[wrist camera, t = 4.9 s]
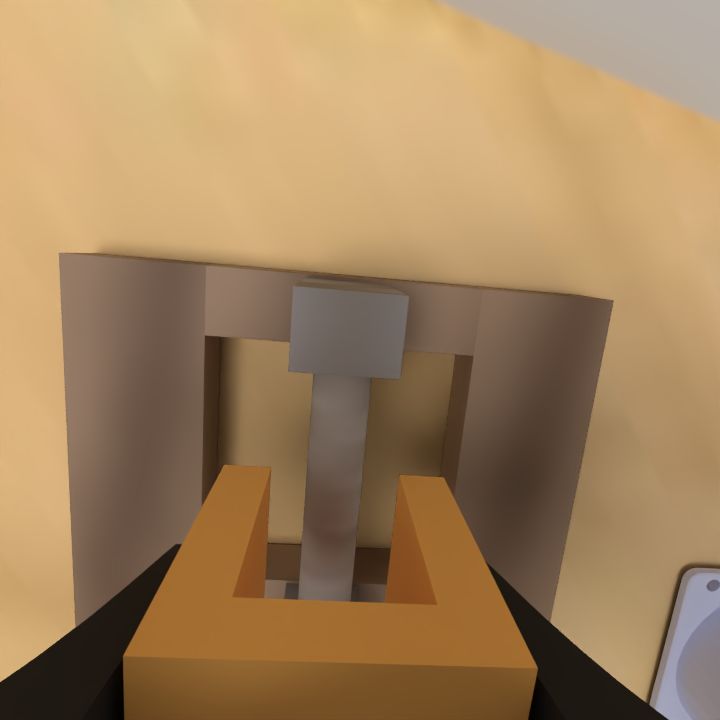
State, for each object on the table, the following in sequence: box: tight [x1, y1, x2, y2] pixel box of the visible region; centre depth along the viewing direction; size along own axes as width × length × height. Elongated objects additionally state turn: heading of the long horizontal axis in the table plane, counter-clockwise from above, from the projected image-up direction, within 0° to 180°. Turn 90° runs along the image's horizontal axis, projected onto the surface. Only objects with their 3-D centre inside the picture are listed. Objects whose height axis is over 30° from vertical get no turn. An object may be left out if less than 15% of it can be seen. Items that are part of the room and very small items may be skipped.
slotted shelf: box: [59, 253, 613, 627], centre depth 15 cm, size 16×24×6 cm, turn 175°
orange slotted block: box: [123, 465, 538, 720], centre depth 8 cm, size 5×4×5 cm
